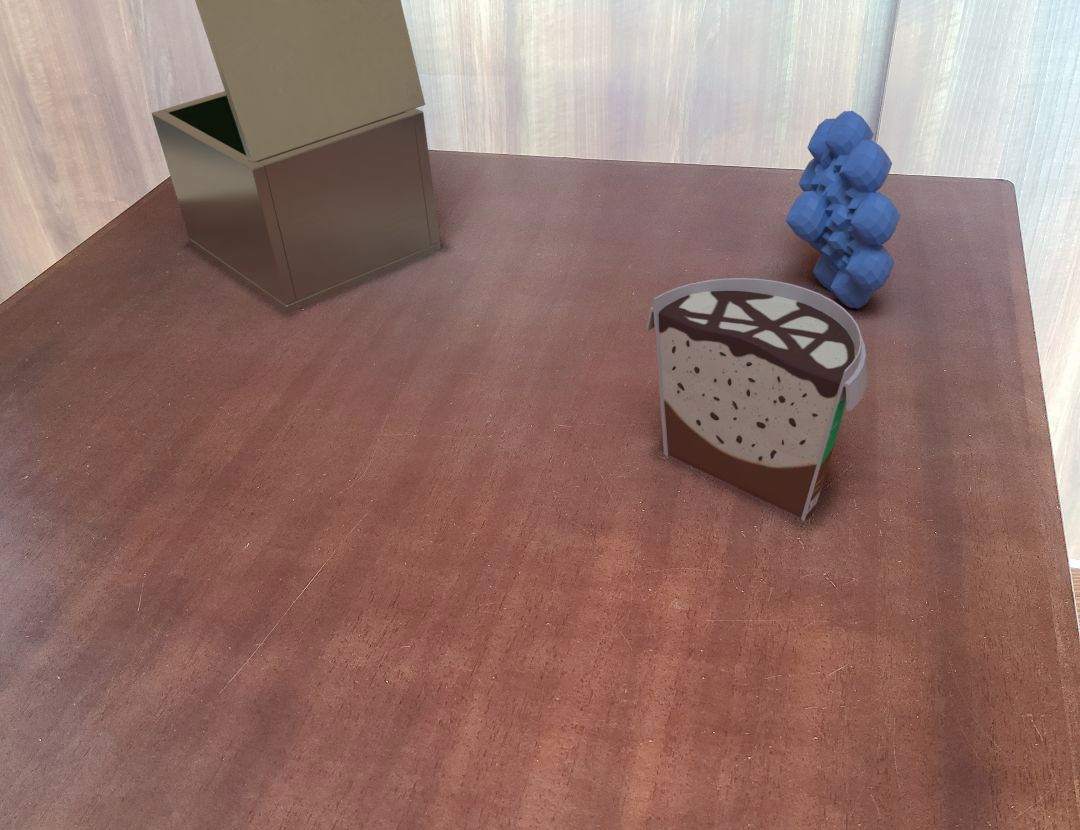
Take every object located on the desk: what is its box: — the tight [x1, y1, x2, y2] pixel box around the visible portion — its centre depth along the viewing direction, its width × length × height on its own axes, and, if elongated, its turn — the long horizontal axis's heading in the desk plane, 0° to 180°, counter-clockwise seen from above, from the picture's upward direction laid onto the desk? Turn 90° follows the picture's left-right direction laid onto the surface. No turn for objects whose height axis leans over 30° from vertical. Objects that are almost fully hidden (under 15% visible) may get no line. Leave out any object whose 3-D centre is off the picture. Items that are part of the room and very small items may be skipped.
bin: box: [151, 90, 442, 314], centre depth 79 cm, size 16×14×11 cm
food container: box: [645, 277, 868, 522], centre depth 56 cm, size 12×6×10 cm, turn 47°
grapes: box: [785, 110, 901, 309], centre depth 69 cm, size 12×7×12 cm, turn 12°
